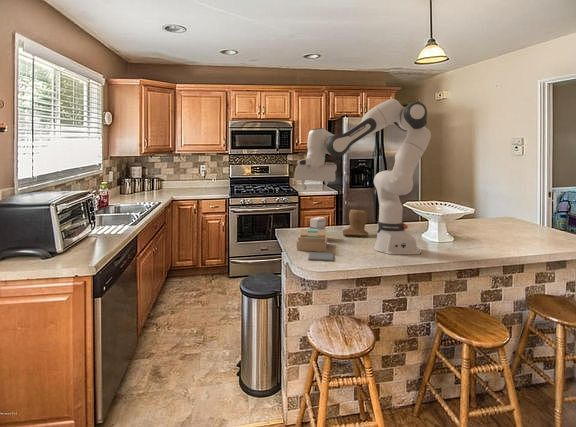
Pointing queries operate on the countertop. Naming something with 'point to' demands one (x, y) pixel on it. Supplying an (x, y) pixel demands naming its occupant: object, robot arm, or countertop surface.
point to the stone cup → (356, 223)
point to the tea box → (312, 233)
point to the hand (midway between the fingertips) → (314, 189)
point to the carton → (312, 241)
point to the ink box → (318, 223)
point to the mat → (320, 256)
